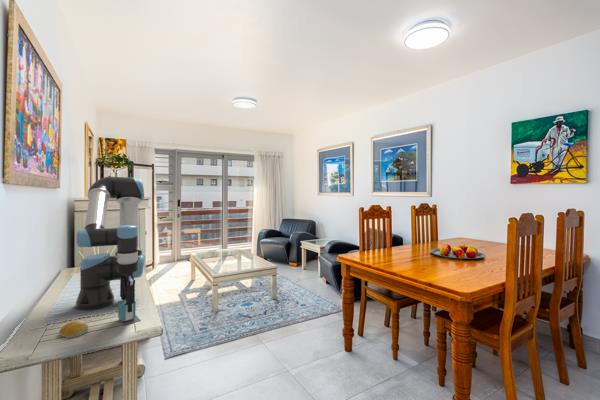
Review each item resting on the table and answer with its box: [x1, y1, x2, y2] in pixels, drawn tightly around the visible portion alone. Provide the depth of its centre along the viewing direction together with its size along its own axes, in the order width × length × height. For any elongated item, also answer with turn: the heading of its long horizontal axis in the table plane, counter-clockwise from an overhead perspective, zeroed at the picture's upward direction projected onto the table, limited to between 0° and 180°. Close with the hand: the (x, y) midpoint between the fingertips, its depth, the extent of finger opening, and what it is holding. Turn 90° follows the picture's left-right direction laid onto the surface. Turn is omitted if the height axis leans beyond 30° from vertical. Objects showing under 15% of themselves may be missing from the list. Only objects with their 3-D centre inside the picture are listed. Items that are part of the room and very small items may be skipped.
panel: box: [118, 314, 141, 326], centre depth 126 cm, size 7×6×1 cm
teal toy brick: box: [117, 300, 137, 321], centre depth 126 cm, size 5×5×7 cm
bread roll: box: [59, 320, 89, 339], centre depth 114 cm, size 8×9×4 cm
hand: (127, 316), depth 126 cm, fingers closed on teal toy brick, 5 cm apart
